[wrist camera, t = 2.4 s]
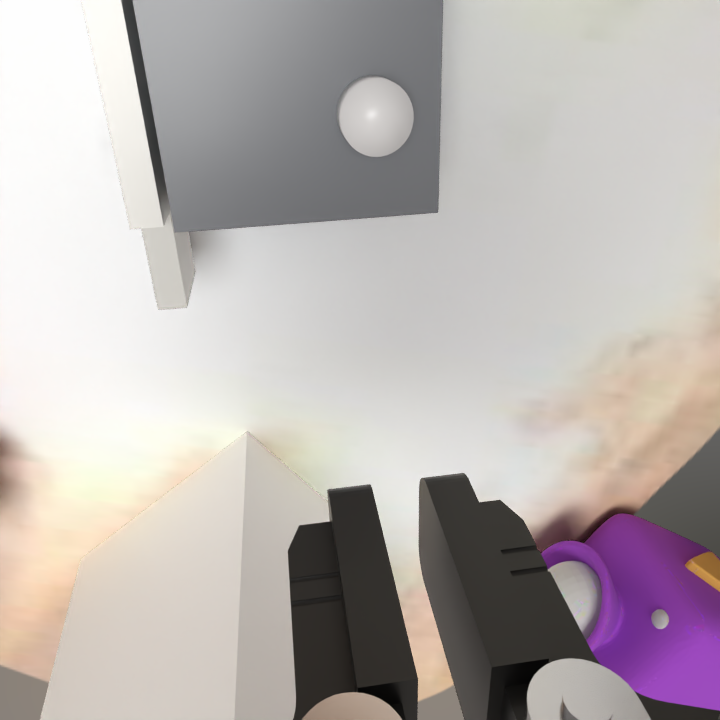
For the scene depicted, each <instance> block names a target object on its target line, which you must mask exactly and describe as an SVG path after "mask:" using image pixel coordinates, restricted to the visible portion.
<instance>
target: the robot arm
mask: <svg viewBox="0 0 720 720" xmlns="http://www.w3.org/2000/svg"><path fill="white" fill-rule="evenodd" d="M327 493H328V507H329V520H330V521H329V522H321V523H313V524H305V525H299V527H298V529H297V531H296V533H295V536H294V538H293V540H292V542H291V544H290V547H289V549H288V566H289V581H290V601H291V618H292V636H293V653H294V671H295V688H296V708H295V713H294V718H293V720H417V704H418V677H417V673H416V669H415V665H414V661H413V657H412V653H411V648H410V644H409V640H408V636H407V632H406V628H405V623H404V619H403V615H402V611H401V607H400V603H399V599H398V594H397V590H396V586H395V582H394V578H393V574H392V569H391V565H390V561H389V557H388V553H387V549H386V545H385V540H384V536H383V532H382V528H381V524H380V520H379V515H378V511H377V507H376V503H375V499H374V495H373V491H372V487H371V485H370V484H369V485H361V486H352V487H344V488H336V489H328V490H327ZM419 556H420V564H421V570H422V575H423V579H424V583H425V587H426V590H427V594H428V597H429V600H430V604H431V607H432V611H433V614H434V617H435V621H436V624H437V628H438V631H439V635H440V638H441V641H442V645H443V648H444V652H445V655H446V658H447V662H448V665H449V669H450V672H451V676H452V679H453V682H454V686H455V689H456V693H457V696H458V699H459V703H460V706H461V710H462V713H463V717H464V719H465V720H720V711H719V710H712V709H706V708H700V707H694V706H688V705H682V704H676V703H669V702H664V701H660V700H655V699H652V698H649V697H646V696H644V695H641V694H639V693H637V692H635V691H634V690H633V689H632V688H631V687H630V686H629V685H628V684H627V683H626V682H625V681H624V680H623V679H622V678H621V677H620V676H618V675H617V674H615V673H614V672H612V671H611V670H609V669H607V668H606V667H604V666H602V665H601V664H600V663H599V662H598V660H597V659H596V657H595V656H594V654H593V652H592V651H591V649H590V647H589V645H588V643H587V641H586V639H585V637H584V635H583V634H582V632H581V630H580V628H579V626H578V624H577V622H576V620H575V618H574V616H573V614H572V612H571V611H570V609H569V607H568V605H567V603H566V601H565V599H564V597H563V595H562V593H561V591H560V589H559V588H558V586H557V584H556V582H555V580H554V578H553V576H552V574H551V572H550V571H549V572H548V569H547V565H546V563H545V561H544V559H543V557H542V555H541V553H540V551H539V550H537V548H536V544H535V542H534V540H533V538H532V536H531V534H530V532H529V530H528V528H527V526H526V524H525V522H524V521H523V519H521V518H520V517H519V516H518V515H517V514H516V513H515V512H513V511H512V510H511V509H510V508H509V507H508V506H506V505H505V504H504V503H503V502H502V501H501V500H496V501H488V502H480V503H479V501H478V499H477V497H476V495H475V493H474V490H473V488H472V486H471V484H470V481H469V479H468V477H467V476H466V475H465V474H464V473H460V474H452V475H443V476H435V477H427V478H421V480H420V485H419Z"/></svg>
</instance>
